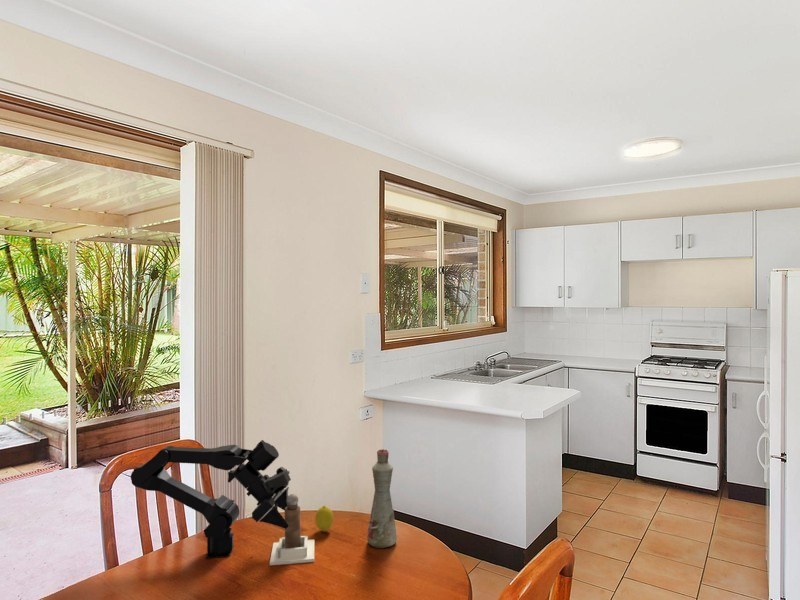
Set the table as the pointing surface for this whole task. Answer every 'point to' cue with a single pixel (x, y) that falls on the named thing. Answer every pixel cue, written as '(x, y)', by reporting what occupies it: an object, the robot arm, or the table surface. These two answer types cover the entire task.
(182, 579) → the table surface
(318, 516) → the lemon
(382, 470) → the bottle
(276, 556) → the mill stand
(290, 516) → the pepper mill
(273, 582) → the table surface
